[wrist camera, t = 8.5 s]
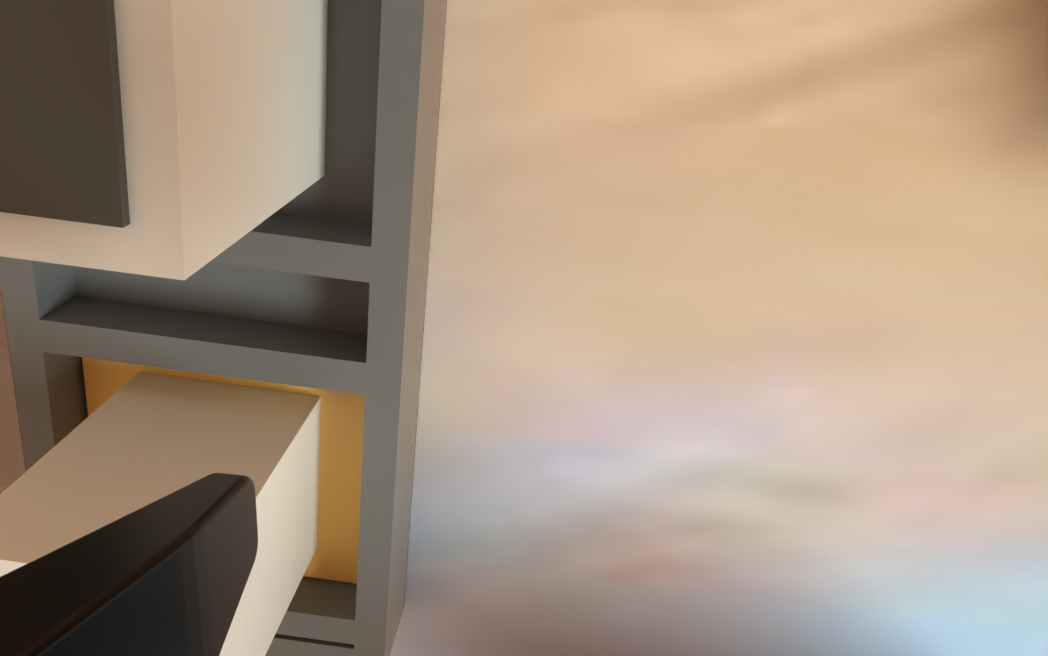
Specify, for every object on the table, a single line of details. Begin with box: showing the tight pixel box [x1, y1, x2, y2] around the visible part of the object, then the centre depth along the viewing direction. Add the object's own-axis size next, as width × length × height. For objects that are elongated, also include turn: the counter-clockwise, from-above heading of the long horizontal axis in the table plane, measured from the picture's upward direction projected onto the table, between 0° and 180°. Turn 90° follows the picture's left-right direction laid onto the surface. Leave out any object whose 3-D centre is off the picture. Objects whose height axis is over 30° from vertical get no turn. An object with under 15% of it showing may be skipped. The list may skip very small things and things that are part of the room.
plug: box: [0, 372, 321, 656], centre depth 18 cm, size 4×4×7 cm
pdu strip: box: [0, 0, 447, 656], centre depth 17 cm, size 20×9×8 cm, turn 174°
